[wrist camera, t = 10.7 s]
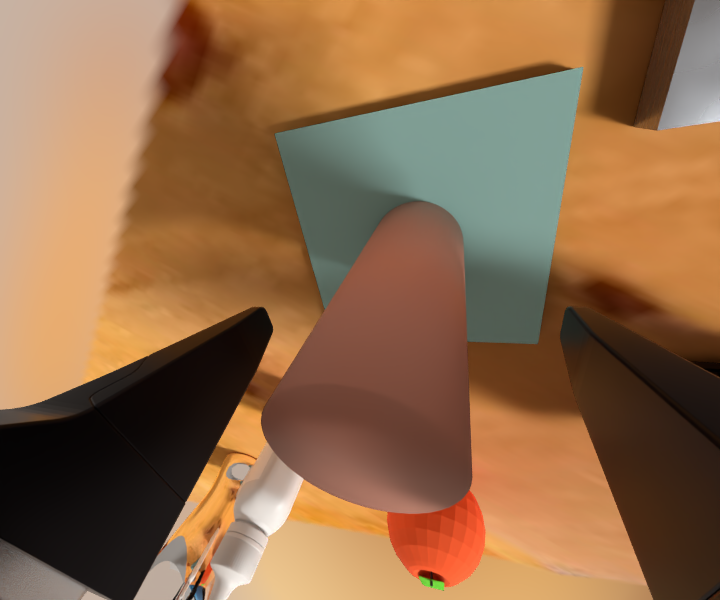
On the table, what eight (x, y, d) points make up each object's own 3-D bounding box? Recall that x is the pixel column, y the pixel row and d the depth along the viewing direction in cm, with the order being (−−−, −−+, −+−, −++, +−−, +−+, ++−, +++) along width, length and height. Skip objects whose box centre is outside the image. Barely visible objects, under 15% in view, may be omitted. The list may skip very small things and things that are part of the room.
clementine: (484, 508, 26) (491, 625, 20) (404, 495, 28) (391, 596, 22) (480, 453, 22) (488, 579, 16) (388, 444, 24) (367, 550, 18)
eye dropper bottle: (269, 398, 25) (153, 583, 16) (317, 384, 22) (211, 598, 13) (301, 430, 27) (212, 617, 17) (350, 421, 24) (277, 637, 14)
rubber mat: (534, 333, 15) (537, 344, 15) (336, 329, 19) (332, 337, 18) (575, 68, 10) (583, 66, 9) (283, 132, 13) (274, 133, 13)
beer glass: (253, 448, 31) (124, 667, 19) (289, 485, 34) (196, 698, 22) (211, 450, 34) (78, 639, 22) (247, 484, 37) (146, 669, 25)
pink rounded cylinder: (463, 282, 14) (471, 530, 6) (380, 285, 15) (295, 491, 7) (463, 195, 12) (473, 396, 4) (367, 206, 13) (228, 374, 5)
